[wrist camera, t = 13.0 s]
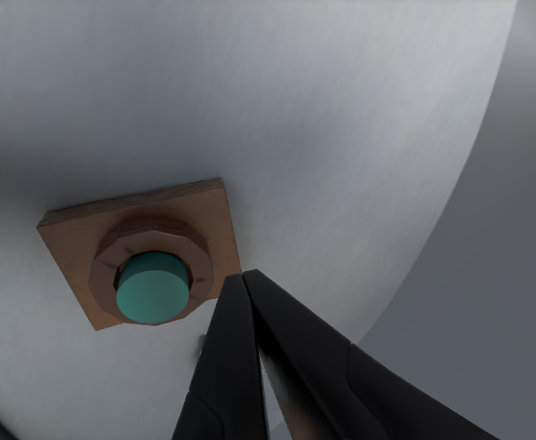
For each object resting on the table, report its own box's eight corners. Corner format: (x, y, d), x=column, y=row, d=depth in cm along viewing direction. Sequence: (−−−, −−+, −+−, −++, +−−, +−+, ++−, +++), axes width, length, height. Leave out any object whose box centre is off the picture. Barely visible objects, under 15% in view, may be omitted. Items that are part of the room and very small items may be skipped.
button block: (100, 312, 22) (88, 354, 19) (45, 212, 18) (20, 245, 15) (240, 275, 23) (250, 308, 20) (220, 176, 19) (230, 199, 16)
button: (132, 308, 19) (129, 331, 17) (110, 260, 17) (105, 281, 15) (193, 292, 19) (195, 313, 18) (178, 244, 17) (179, 262, 16)
